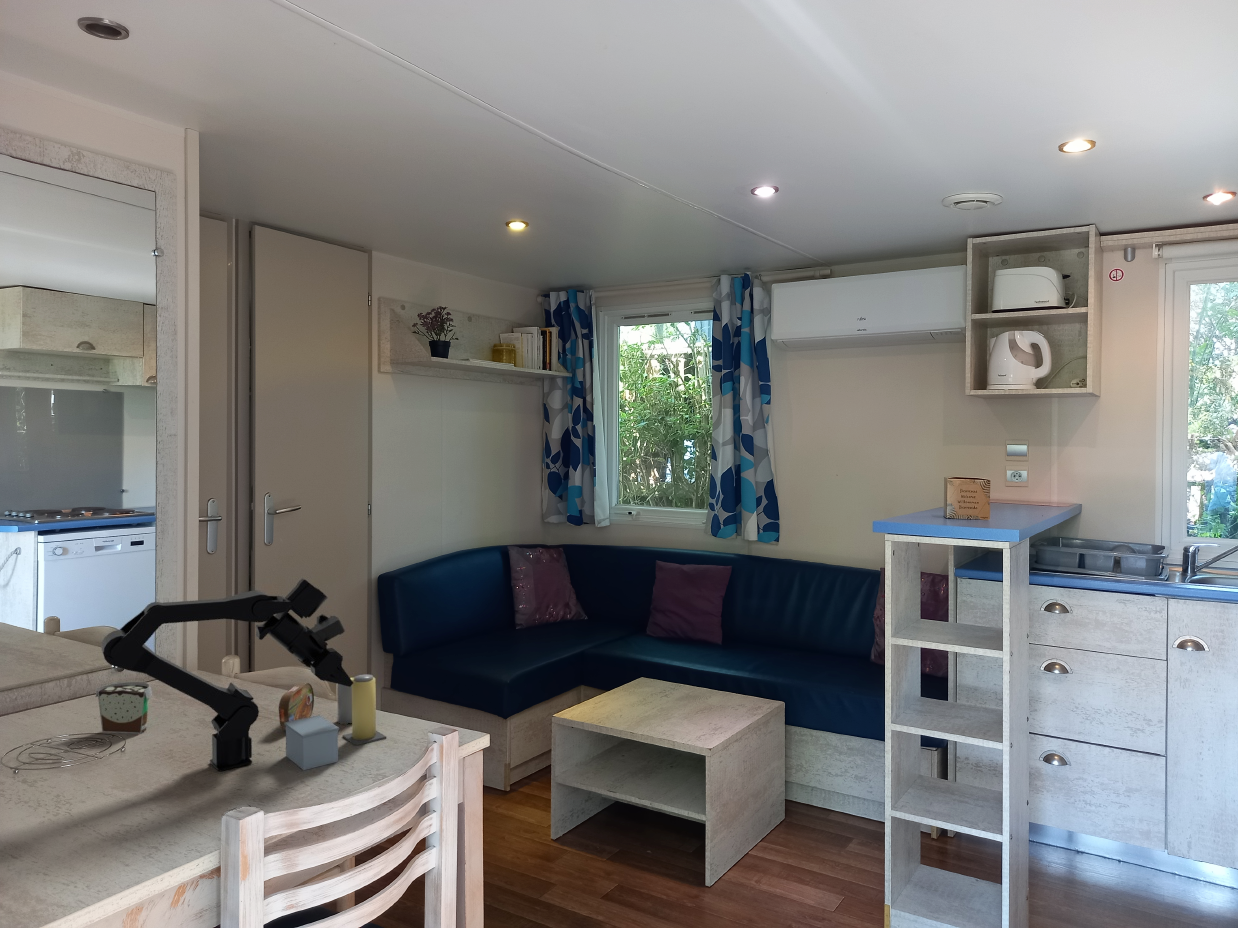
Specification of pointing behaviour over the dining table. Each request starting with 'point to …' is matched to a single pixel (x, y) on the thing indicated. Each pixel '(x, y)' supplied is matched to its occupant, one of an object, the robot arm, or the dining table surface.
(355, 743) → the pad
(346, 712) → the cylinder
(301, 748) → the block
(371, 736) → the cylinder
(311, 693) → the tin
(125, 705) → the food container
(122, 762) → the dining table surface
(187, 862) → the dining table surface
